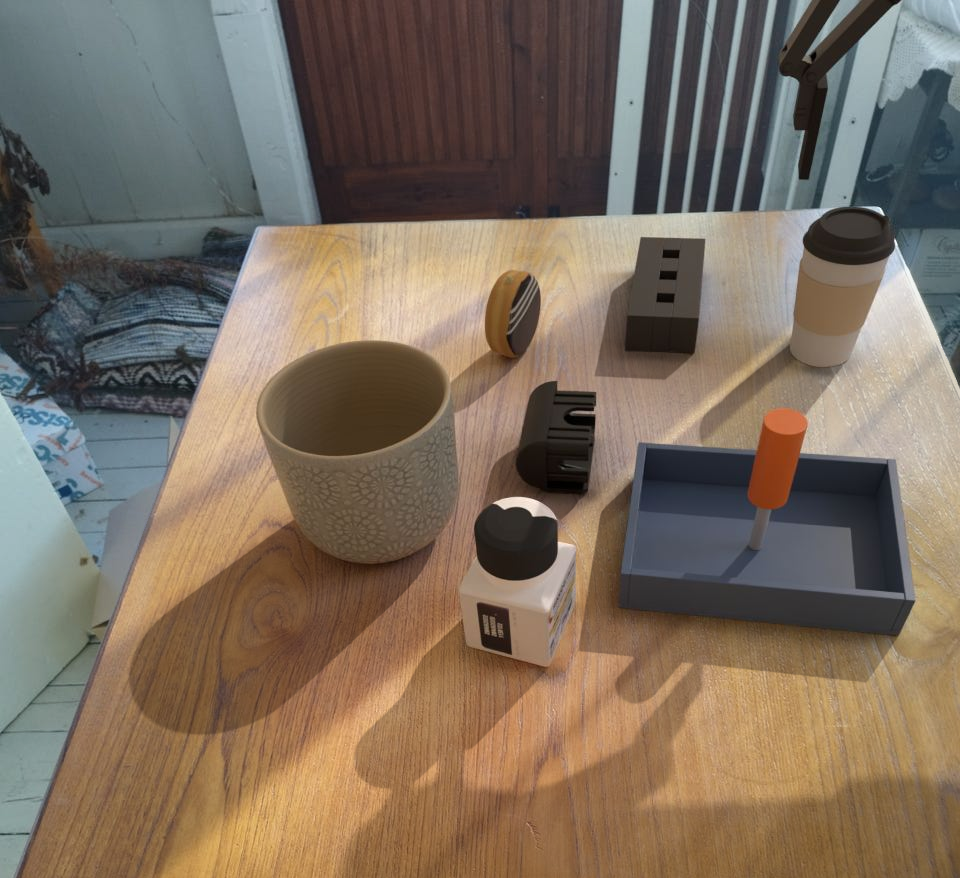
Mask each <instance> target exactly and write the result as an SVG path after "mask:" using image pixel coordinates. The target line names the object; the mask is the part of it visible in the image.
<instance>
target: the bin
mask: <svg viewBox="0 0 960 878" xmlns="http://www.w3.org/2000/svg"><path fill="white" fill-rule="evenodd" d="M756 452H757V449H745V448H731V447H714V446H699V445H683V444H668V443H655V442H654V443H653V442H640V441H639V442H638V443H637V450H636V456H635V457H636V459H635V466H634V474H633V480H632V487H631V494H630V501H629V502H630V503H629V509H628V518H627V524H626V533H625V539H624V546H623V553H622V561H621V568H620V569H621V570H620V577H619V578H620V579H619V591H618V592H619V593H618V603H617V604H618V605H617V607H618V609H620V608H621V609H629V610H638V611H647V612H650V611H651V612H658V613H660V612H661V613H668V614H677V615H688V616H690V615H691V616H697V617H698V616H700V617H707V618H718V619H728V620H738V621H747V622H758V623H768V624H777V625H778V624H779V625H789V626H798V627H807V628H808V627H809V628H818V629H826V630H827V629H829V630H836V631H846V632H857V633H868V634H877V635H885V636H886V635H888V636H895V637H897V636H898V637H899V636H900V635H901V632H902V630H903V628H904V627H905V624H906V622H907V620H908V618H909V616H910V613H911V611H912V609H913V608H914V605H915V603H916V595H915V587H914V580H913V572H912V566H911V560H910V559H911V558H910V551H909V545H908V537H907V529H906V524H905V516H904V509H903V502H902V501H903V500H902V495H901V488H900V479H899V473H898V465H897V460H896V459H895V458H882V457H881V458H880V457H866V456H854V455H853V456H850V455H835V454H820V453H819V454H818V453H805V452H800V455H799V459H798V463H797V466H796V470H795V474H794V478H793V481H792V485H791V489H790V492H789V496H788V500H787V502H786V504H785V505H784V506H782V507H780V508H777V509H771V513H770V517H769V521H768V525H767V529H766V533H765V537H764V541H763V545H762V548H761V549H760V550H753V549H751V548H750V547H749V542H750V537H751V533H752V529H753V524H754V520H755V516H756V512H757V506H755V505H753V504H752V503H751V502H750V501H749V499H748V496H747V493H748V488H749V484H750V479H751V474H752V470H753V465H754V461H755V456H756Z"/></svg>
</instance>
